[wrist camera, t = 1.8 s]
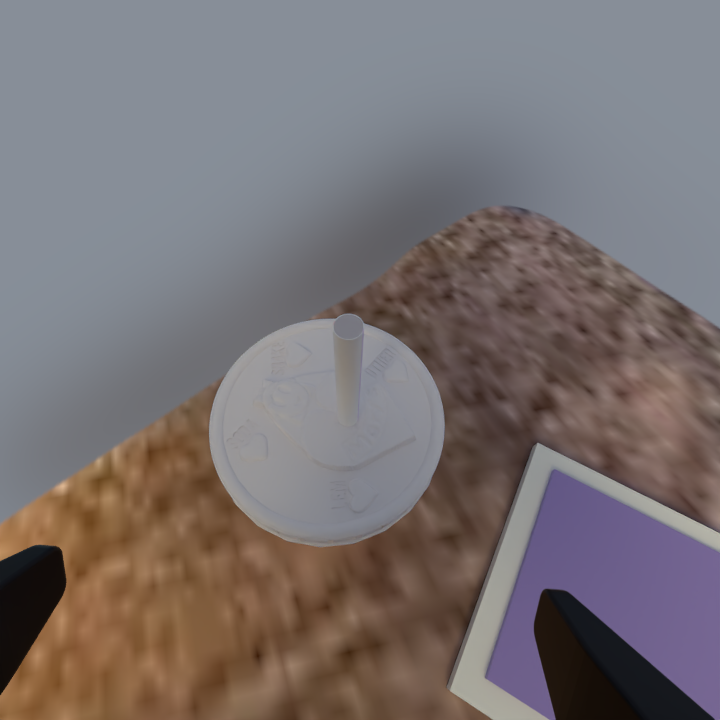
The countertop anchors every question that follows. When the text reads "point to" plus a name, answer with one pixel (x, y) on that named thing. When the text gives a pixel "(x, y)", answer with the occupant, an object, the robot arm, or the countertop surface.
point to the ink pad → (592, 587)
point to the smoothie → (327, 431)
